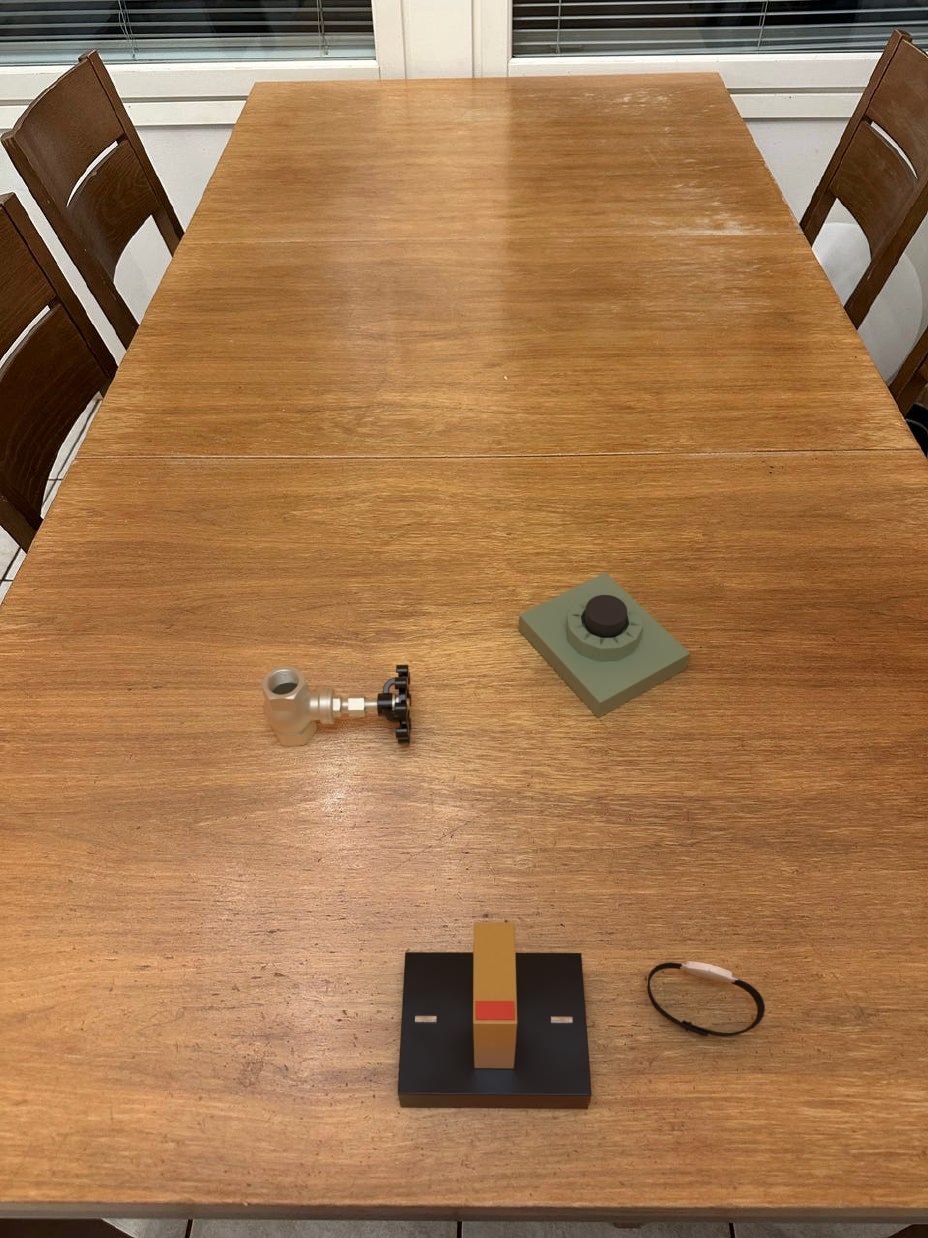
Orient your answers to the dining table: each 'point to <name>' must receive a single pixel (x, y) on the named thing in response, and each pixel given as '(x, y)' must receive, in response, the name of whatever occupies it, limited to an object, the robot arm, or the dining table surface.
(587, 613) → the bell button
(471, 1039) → the plate
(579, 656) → the doorbell
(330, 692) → the valve
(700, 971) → the watch
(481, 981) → the lock knob
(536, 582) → the dining table surface
